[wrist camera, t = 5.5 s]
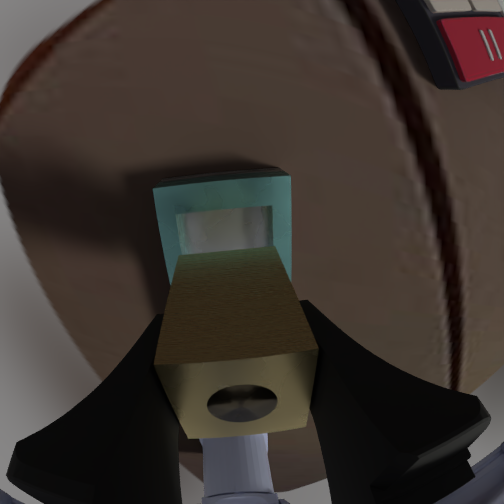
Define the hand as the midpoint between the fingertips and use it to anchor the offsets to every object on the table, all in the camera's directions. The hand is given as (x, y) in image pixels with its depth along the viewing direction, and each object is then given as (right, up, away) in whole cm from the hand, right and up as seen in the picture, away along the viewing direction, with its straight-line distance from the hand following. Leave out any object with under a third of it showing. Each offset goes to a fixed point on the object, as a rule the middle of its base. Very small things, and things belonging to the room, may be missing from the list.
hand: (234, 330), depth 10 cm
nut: (0, +1, +3) cm, 3 cm away
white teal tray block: (-1, -1, +10) cm, 10 cm away
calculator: (+18, +23, +3) cm, 29 cm away
